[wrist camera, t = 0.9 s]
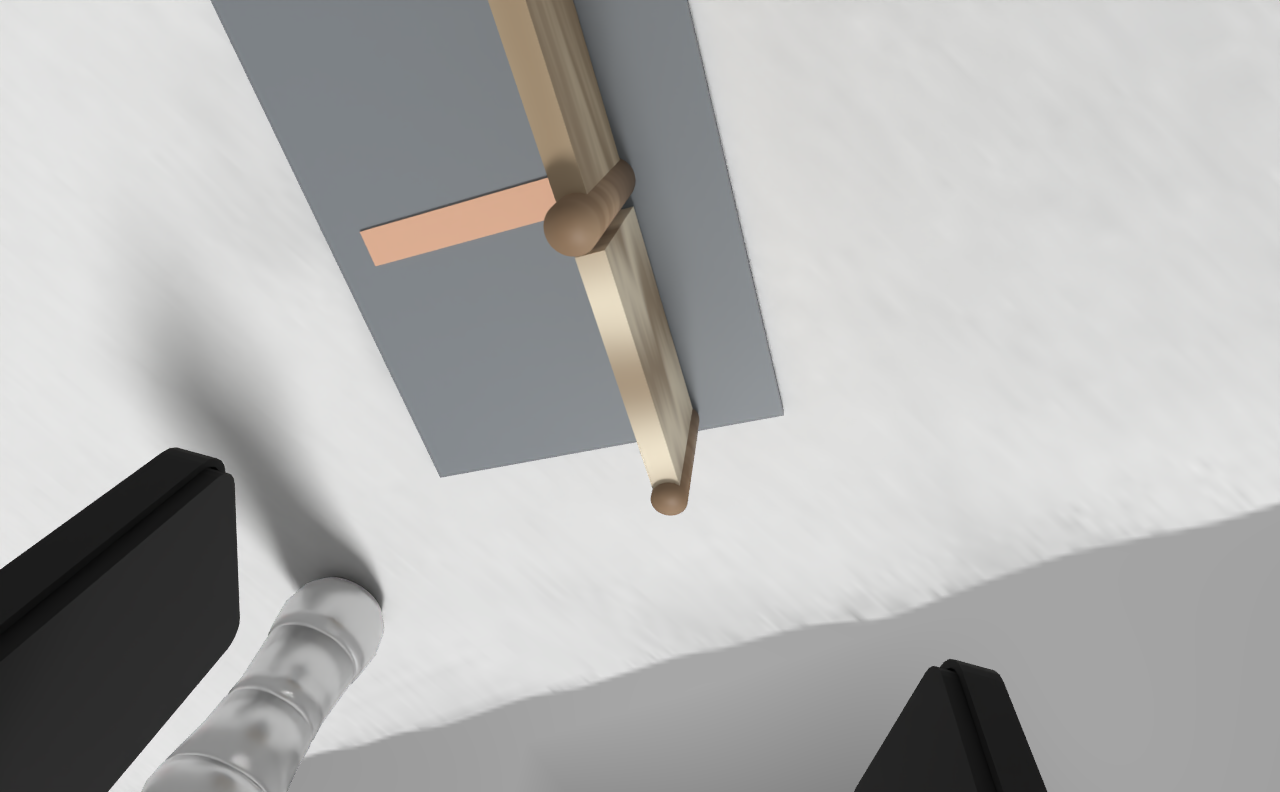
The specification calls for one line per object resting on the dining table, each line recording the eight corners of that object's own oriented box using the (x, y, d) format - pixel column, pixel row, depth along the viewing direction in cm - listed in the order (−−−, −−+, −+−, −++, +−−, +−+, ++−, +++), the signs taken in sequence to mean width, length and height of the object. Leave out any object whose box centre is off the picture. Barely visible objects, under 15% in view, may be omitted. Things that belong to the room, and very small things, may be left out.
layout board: (631, -243, 26) (628, -247, 26) (783, 410, 38) (783, 416, 37) (193, -52, 31) (183, -53, 31) (443, 472, 43) (439, 478, 42)
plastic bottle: (370, 558, 47) (138, 884, 29) (411, 635, 50) (221, 974, 32) (286, 568, 48) (18, 884, 31) (330, 643, 51) (108, 970, 34)
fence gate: (604, 213, 33) (568, 260, 27) (637, 205, 33) (608, 250, 27) (673, 434, 38) (656, 517, 32) (702, 429, 38) (691, 512, 32)
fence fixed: (527, -199, 27) (439, -280, 19) (640, 195, 33) (606, 249, 26) (479, -178, 27) (375, -249, 20) (599, 207, 34) (554, 262, 26)
